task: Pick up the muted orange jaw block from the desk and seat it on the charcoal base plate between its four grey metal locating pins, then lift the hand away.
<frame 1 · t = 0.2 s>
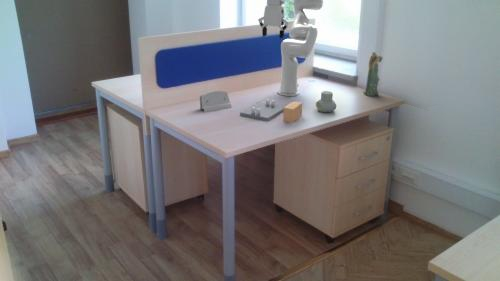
hand: (272, 37, 248), 36 cm above the table, fingers open, 9 cm apart
base plate: (263, 112, 249), on the table
grey green vase: (325, 111, 254), on the table
jaw block: (292, 118, 242), on the table
hinge: (214, 108, 255), on the table
statue: (371, 94, 283), on the table
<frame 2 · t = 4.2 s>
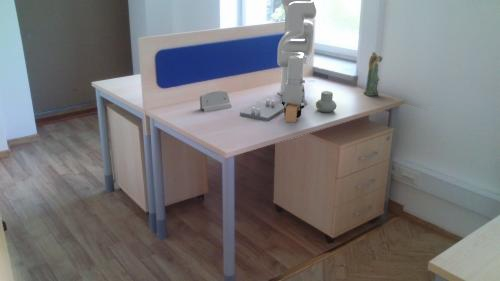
hand: (292, 115, 241), 1 cm above the table, fingers closed on jaw block, 5 cm apart
jaw block: (292, 118, 242), on the table, touching gripper
everything else where it was.
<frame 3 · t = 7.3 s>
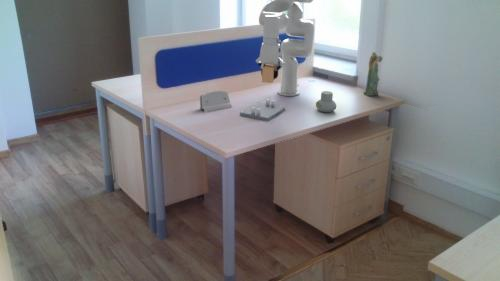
hand: (269, 76, 240), 19 cm above the table, fingers closed on jaw block, 5 cm apart
jaw block: (269, 79, 241), point 18 cm above the table, touching gripper
everything else where it was.
when the fingers open (4 cm above the table, at t = 10.5 s): jaw block drops 1 cm, resting on base plate.
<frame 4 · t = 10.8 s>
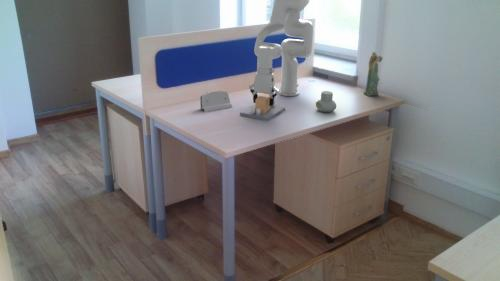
hand: (263, 103, 247), 5 cm above the table, fingers open, 8 cm apart
jaw block: (263, 109, 248), point 1 cm above the table, touching base plate
everything else where it was.
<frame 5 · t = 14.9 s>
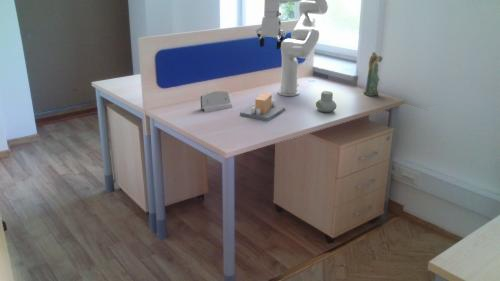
hand: (270, 47, 253), 30 cm above the table, fingers open, 9 cm apart
nothing on the table moved.
at the end: jaw block 0.1 cm off-centre on the base plate, point 1.5 cm above the base plate's base; jaw block tilted 0°; the gripper is holding nothing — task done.
